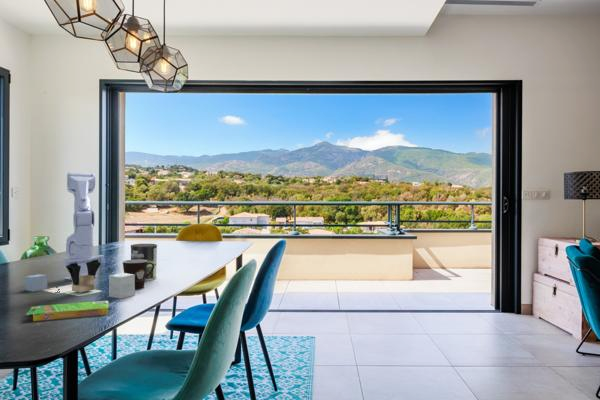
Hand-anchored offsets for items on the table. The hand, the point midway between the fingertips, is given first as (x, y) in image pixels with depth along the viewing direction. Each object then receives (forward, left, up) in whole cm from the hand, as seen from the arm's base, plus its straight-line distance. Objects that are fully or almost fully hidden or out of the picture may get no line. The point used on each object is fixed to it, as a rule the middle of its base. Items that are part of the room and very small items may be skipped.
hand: (83, 283), depth 148 cm
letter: (0, -10, -3) cm, 11 cm away
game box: (+18, +21, -4) cm, 28 cm away
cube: (+7, -18, -3) cm, 19 cm away
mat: (0, 0, -3) cm, 3 cm away
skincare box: (-4, +16, -3) cm, 16 cm away
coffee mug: (-16, +10, -3) cm, 19 cm away
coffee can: (-28, -2, -3) cm, 28 cm away
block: (0, 0, -2) cm, 2 cm away
